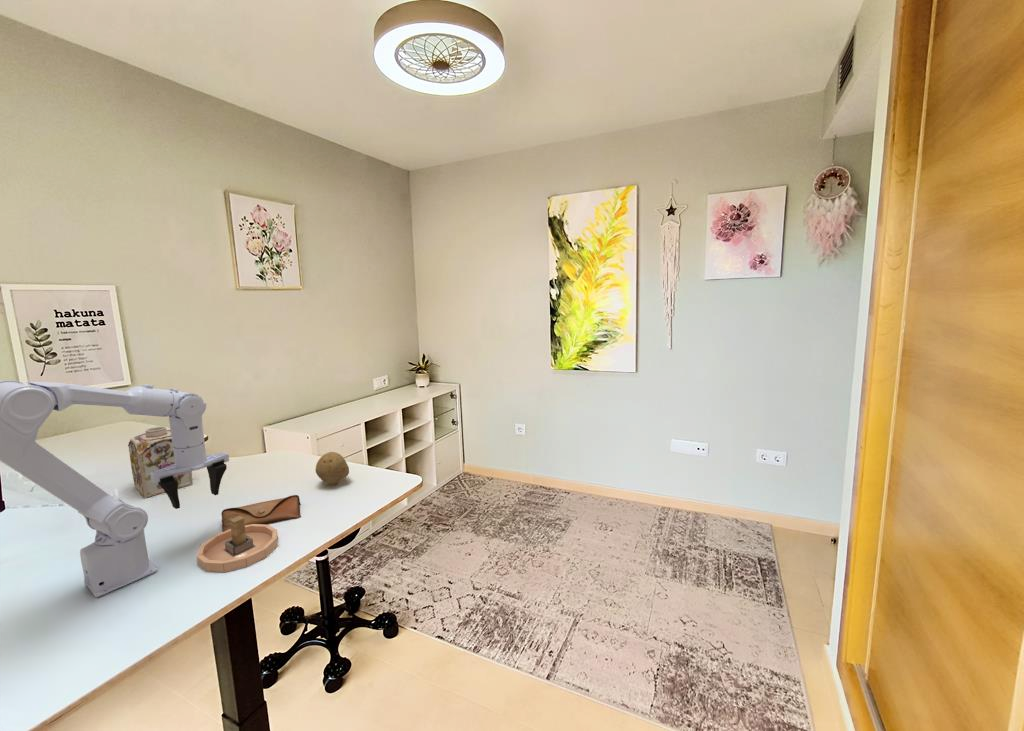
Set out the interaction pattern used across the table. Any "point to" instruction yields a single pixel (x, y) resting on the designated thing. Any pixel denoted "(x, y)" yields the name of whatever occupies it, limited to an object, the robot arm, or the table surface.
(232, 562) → the jar dish
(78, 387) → the robot arm
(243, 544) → the hollow square box
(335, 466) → the coconut
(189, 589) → the table surface
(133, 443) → the decorative jar
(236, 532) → the brown long rectangular block
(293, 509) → the sunglasses case
